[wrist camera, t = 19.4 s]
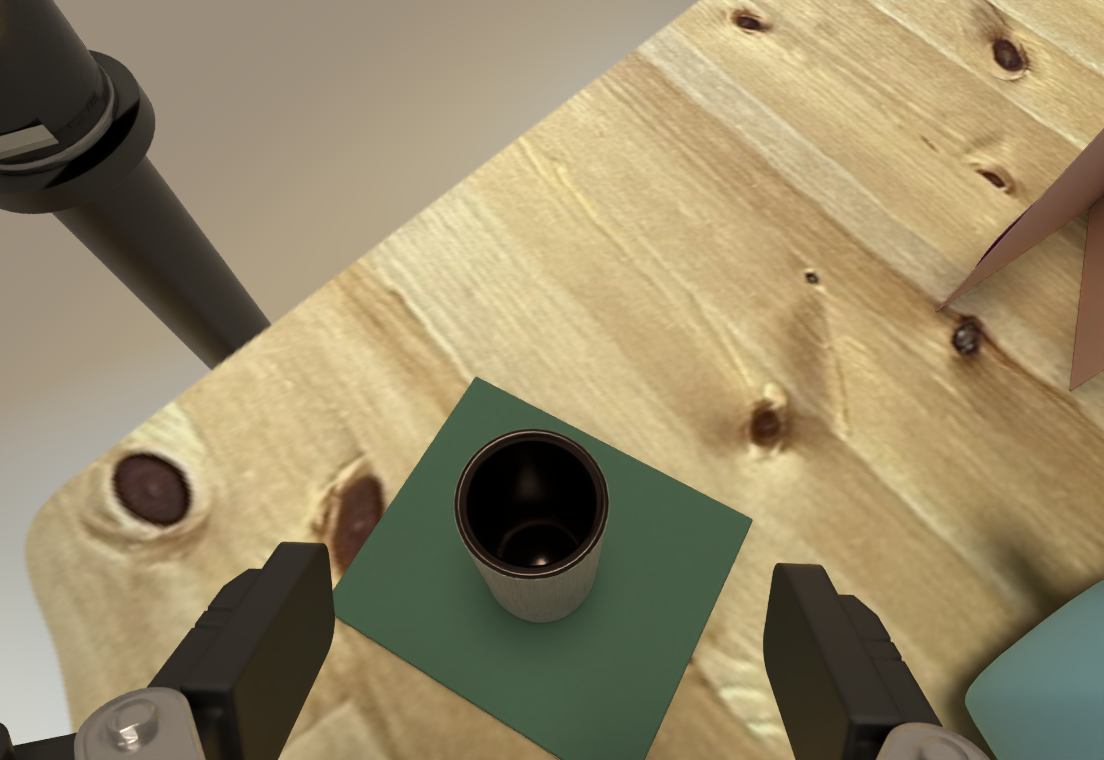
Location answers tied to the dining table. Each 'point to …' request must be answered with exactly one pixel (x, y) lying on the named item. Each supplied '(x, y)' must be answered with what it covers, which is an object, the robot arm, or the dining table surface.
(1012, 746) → the teapot
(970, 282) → the greeting card
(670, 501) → the green mat
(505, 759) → the dining table surface
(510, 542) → the planter
